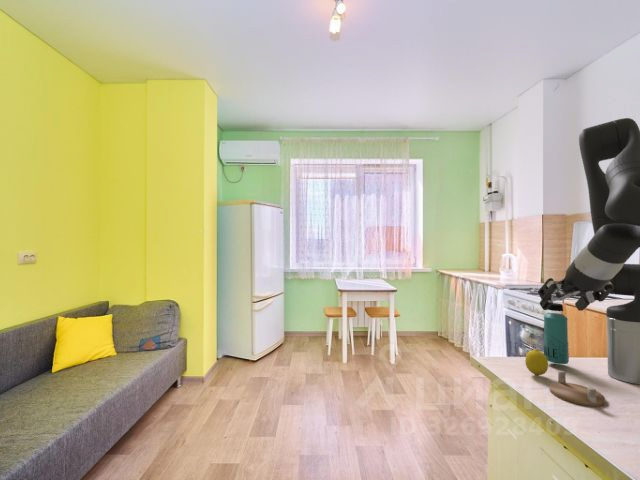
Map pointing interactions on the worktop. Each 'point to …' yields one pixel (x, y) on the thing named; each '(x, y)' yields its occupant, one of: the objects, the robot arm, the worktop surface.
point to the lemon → (536, 362)
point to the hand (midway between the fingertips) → (560, 307)
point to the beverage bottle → (556, 336)
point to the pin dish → (576, 392)
